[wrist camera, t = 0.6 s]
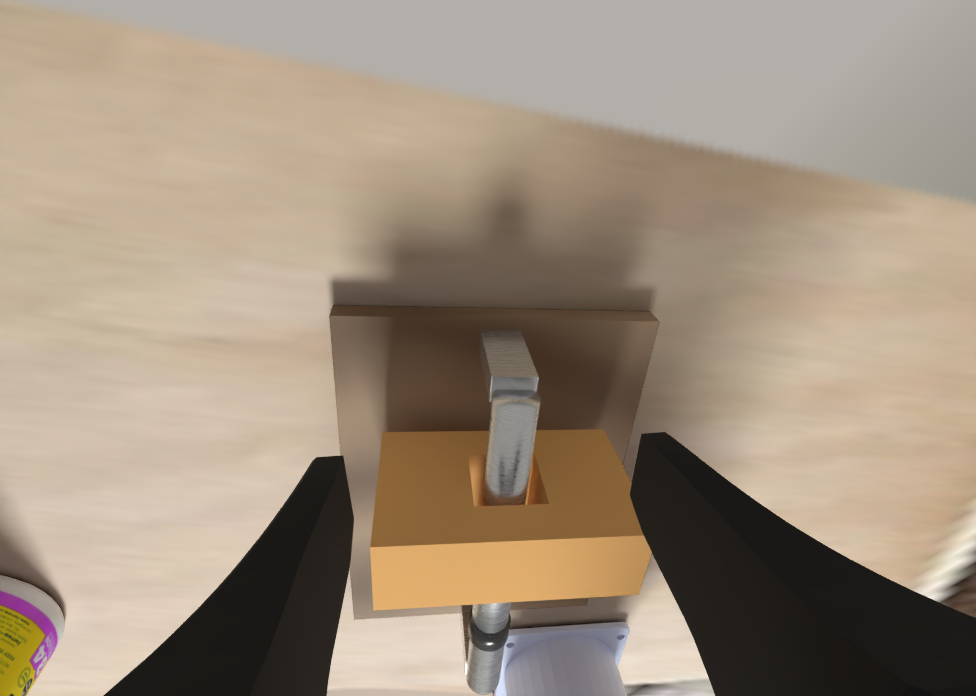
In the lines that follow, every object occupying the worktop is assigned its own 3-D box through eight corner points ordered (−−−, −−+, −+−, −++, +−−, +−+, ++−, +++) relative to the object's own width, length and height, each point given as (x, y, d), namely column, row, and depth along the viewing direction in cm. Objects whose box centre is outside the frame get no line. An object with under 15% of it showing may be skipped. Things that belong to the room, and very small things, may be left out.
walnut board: (581, 589, 30) (586, 605, 29) (356, 602, 28) (354, 619, 27) (649, 311, 21) (659, 321, 21) (333, 305, 20) (329, 315, 19)
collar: (592, 482, 23) (638, 594, 18) (383, 488, 22) (373, 610, 17) (604, 429, 21) (658, 534, 17) (382, 432, 20) (369, 547, 15)
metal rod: (490, 605, 28) (503, 701, 24) (458, 607, 28) (464, 704, 24) (523, 330, 20) (550, 400, 16) (478, 330, 20) (493, 401, 16)
